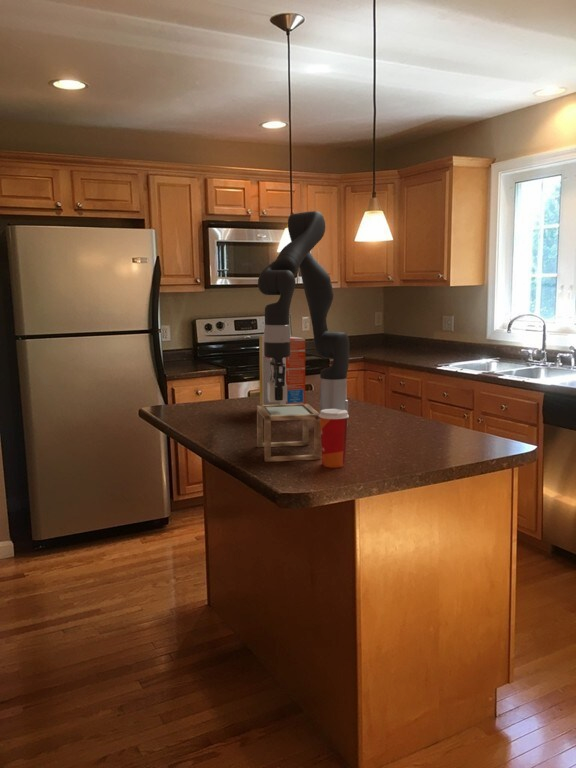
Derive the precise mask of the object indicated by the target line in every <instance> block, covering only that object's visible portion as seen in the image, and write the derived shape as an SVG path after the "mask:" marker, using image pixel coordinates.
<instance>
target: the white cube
mask: <svg viewBox="0 0 576 768" xmlns="http://www.w3.org/2000/svg"><path fill="white" fill-rule="evenodd" d="M274 385H275V384H274V382H267V394H268V400H269V402H286V401H287V384H286V383H285V385H284V387H283V400H281V401H276V400H275V386H274Z"/></svg>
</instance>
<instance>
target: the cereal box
mask: <svg viewBox="0 0 576 768" xmlns="http://www.w3.org/2000/svg"><path fill="white" fill-rule="evenodd" d="M258 342H259V347H258V348H259V405H279V404H306V338H304V337H296V336H290V356H289V357H286V358H283V359H282V360H283V364H285V383H286V384H287V401H286V402H269V400H268V394H267V382H271V380H270V362H272V358H268V357H265V356H264V334H263V335H259V341H258ZM280 382H281V380H280Z"/></svg>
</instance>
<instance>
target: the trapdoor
mask: <svg viewBox="0 0 576 768" xmlns="http://www.w3.org/2000/svg"><path fill="white" fill-rule="evenodd" d="M266 411H267V412H268V414H269V415H297V414H310V413H309V412H308V411H307V410H306V409H305V408H304V407H303V406H290V407H266Z"/></svg>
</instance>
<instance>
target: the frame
mask: <svg viewBox="0 0 576 768" xmlns="http://www.w3.org/2000/svg"><path fill="white" fill-rule="evenodd" d="M290 406H303V407H304V408H305V409H306V410H307V411H308V412H309V413H310V414H297V415H269V414H268V412H267V411H266V407H290ZM319 415H320V412H318V411H317V410H316V409H314V408H313V406H311V405H310V404H309V403H305V404H279V405H260V404H257V405H256V447H257V448H264V450H263V451H264V462H266V463H267V462H268V463H271V462H285V461H286V462H287V461H288V462H289V461H311V460H312V461H313V460H321V459H322V448H321V428H320V417H319ZM296 420H297V421H298V420H299V421H301V420H302V440H300V441H299V440H298V441H297V440H296V441H278V442H277V441H276V442H275V441H274V442H273V441H272V438H271V437H272V426H271V424H272V422H273V421H274V422H275V421H276V422H277V421H296ZM310 420H313V454H302V455H300V454H299V455H276V456H275V455H274V456H272V448H273V447H274V448H275V447H299V446H300V447H301V446H303V447H304V446H309V443H310V441H309V439H310V438H309V437H310V434H309V429H310V428H309V426H310V425H309V424H310V423H309V421H310Z"/></svg>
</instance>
